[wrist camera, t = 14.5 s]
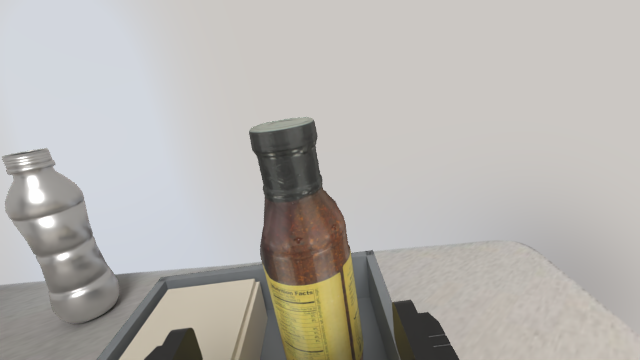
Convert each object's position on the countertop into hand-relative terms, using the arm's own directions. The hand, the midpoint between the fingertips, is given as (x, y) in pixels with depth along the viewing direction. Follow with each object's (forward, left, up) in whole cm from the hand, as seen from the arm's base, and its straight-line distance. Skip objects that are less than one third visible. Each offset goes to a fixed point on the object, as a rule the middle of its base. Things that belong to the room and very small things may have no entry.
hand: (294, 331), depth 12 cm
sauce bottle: (0, +9, -13) cm, 16 cm away
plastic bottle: (-28, +21, -14) cm, 38 cm away
